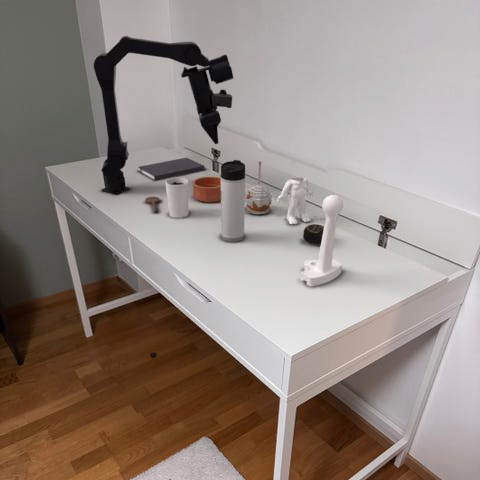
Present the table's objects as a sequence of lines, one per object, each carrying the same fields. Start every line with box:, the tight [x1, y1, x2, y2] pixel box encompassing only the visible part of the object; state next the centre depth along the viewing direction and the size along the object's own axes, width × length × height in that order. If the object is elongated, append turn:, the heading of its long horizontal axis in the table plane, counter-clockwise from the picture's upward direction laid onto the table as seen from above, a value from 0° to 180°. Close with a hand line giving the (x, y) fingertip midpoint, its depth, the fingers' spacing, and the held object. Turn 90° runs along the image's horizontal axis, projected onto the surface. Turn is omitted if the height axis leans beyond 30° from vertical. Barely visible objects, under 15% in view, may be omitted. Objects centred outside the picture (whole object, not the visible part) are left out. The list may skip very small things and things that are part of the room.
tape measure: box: [302, 223, 324, 246], centre depth 125 cm, size 7×7×4 cm
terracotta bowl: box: [192, 176, 221, 203], centre depth 150 cm, size 11×11×5 cm
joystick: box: [300, 194, 344, 288], centre depth 105 cm, size 11×8×20 cm
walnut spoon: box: [144, 196, 161, 214], centre depth 144 cm, size 12×4×1 cm, turn 15°
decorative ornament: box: [245, 160, 273, 215], centre depth 139 cm, size 8×8×15 cm
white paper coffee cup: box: [165, 177, 190, 219], centre depth 137 cm, size 7×7×10 cm
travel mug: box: [220, 159, 246, 243], centre depth 122 cm, size 6×7×20 cm
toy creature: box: [276, 176, 314, 225], centre depth 134 cm, size 12×6×12 cm, turn 116°
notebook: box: [138, 157, 205, 181], centre depth 173 cm, size 13×2×21 cm
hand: (215, 140), depth 150 cm, fingers open, 9 cm apart
